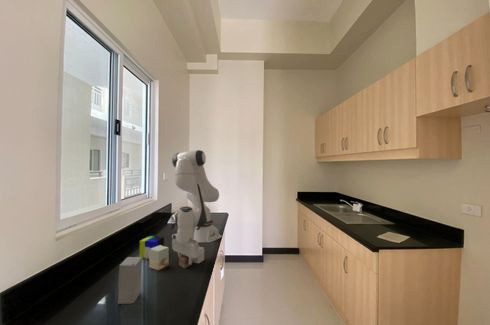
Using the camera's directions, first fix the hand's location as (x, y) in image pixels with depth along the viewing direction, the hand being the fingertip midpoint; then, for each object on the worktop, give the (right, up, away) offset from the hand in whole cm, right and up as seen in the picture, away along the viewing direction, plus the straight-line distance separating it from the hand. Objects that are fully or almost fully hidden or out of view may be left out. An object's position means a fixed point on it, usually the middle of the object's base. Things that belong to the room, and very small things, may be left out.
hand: (185, 262), depth 133 cm
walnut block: (0, -2, 0) cm, 2 cm away
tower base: (-14, -2, -1) cm, 14 cm away
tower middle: (-14, +3, -1) cm, 14 cm away
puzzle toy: (-24, -2, +15) cm, 28 cm away
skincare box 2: (+5, -2, +6) cm, 8 cm away
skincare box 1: (-14, -1, -33) cm, 36 cm away
